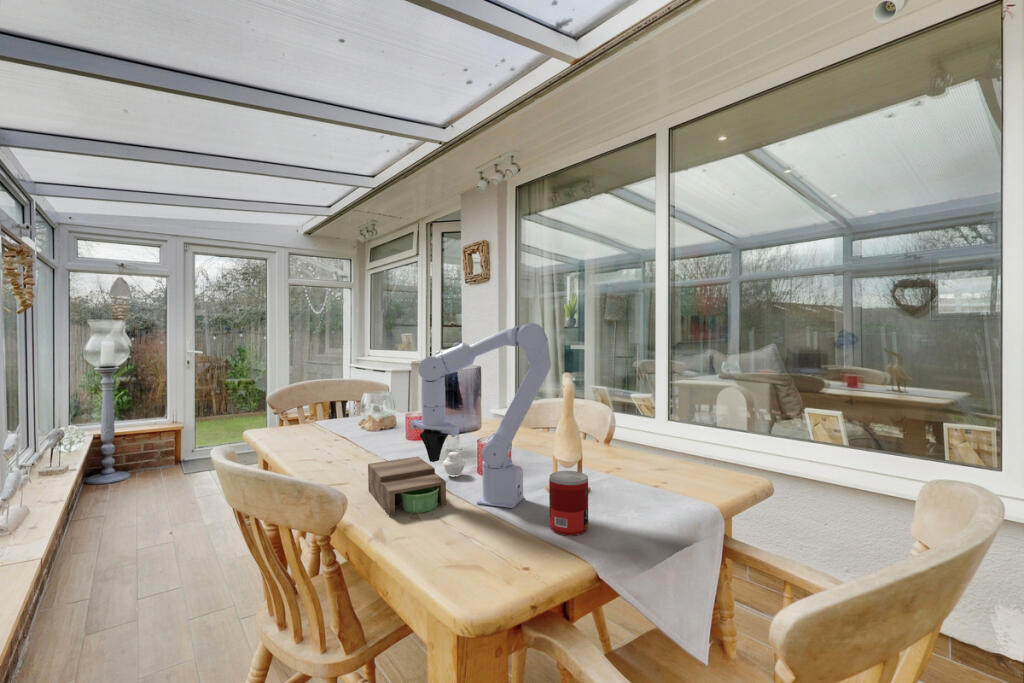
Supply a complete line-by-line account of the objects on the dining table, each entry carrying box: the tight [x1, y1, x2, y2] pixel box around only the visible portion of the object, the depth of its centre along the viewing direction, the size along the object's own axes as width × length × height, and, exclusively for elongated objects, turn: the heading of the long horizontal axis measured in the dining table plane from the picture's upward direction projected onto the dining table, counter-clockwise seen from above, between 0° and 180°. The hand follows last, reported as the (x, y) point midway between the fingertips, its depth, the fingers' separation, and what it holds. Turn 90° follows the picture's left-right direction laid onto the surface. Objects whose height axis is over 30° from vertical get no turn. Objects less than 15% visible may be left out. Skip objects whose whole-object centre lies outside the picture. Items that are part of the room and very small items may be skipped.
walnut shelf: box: [367, 456, 447, 518], centre depth 118 cm, size 20×13×7 cm
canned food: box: [548, 470, 589, 536], centre depth 99 cm, size 8×8×11 cm
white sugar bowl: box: [442, 451, 466, 475], centre depth 135 cm, size 6×6×7 cm
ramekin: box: [400, 486, 439, 514], centre depth 112 cm, size 9×9×4 cm
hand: (434, 460), depth 117 cm, fingers closed
